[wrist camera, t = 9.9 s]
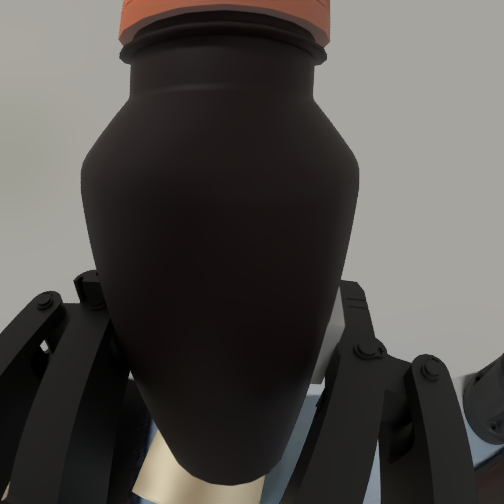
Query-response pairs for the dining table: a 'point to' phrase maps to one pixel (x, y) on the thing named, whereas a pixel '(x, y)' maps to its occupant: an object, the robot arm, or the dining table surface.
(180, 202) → the dark brown bottle
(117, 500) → the dining table surface
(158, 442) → the pedestal
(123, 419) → the dining table surface
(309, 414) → the dining table surface
